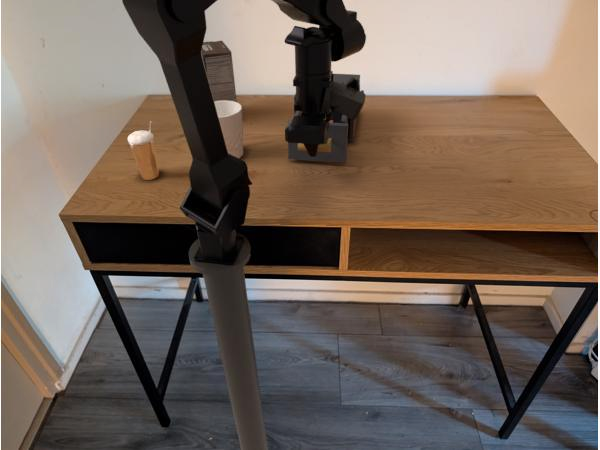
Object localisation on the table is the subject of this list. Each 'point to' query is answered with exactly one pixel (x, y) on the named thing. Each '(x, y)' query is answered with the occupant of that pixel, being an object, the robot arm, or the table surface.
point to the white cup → (231, 126)
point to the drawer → (326, 142)
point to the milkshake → (144, 153)
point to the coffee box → (219, 70)
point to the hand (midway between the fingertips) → (313, 155)
